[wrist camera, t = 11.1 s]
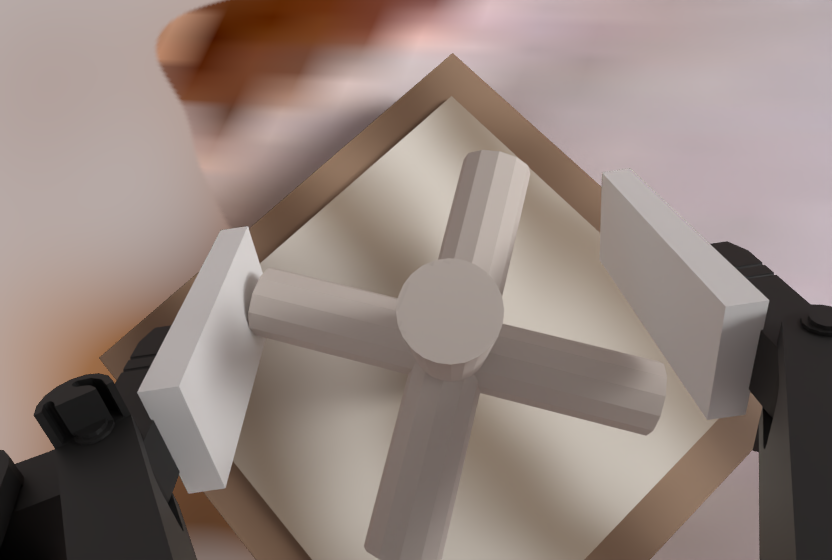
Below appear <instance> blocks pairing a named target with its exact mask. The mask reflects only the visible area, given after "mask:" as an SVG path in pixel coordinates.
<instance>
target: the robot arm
mask: <svg viewBox="0 0 832 560" xmlns="http://www.w3.org/2000/svg"><path fill="white" fill-rule="evenodd" d="M600 261H601V263H602V264H603V266H604V267H605V269H606V270H607V272H608V273H609V275H610V276H611V278H612V279H613V281H614V282H615V284H616V285H617V287H618V288H619V290H620V291H621V293H622V294H623V296H624V297H625V298H626V300H627V301H628V303H629V304H630V306H631V307H632V309H633V310H634V312H635V313H636V315H637V316H638V318H639V319H640V321H641V322H642V324H643V325H644V327H645V328H646V330H647V331H648V333H649V334H650V336H651V337H652V339H653V340H654V342H655V343H656V345H657V346H658V348H659V349H660V351H661V352H662V354H663V355H664V357H665V358H666V360H667V361H668V363H669V364H670V365H671V367H672V368H673V370H674V371H675V373H676V374H677V376H678V377H679V379H680V380H681V382H682V383H683V385H684V386H685V388H686V389H687V391H688V392H689V394H690V395H691V397H692V398H693V400H694V401H695V403H696V404H697V406H698V407H699V409H700V410H701V412H702V413H703V415H704V416H705V418H706V419H707V420H711V419H718V418H725V417H732V416H739V415H746V410H747V405H748V400H749V395H750V392H751V393H752V394H753V395H754V397H755V398H756V399H757V400H758V402H759V403H760V404H761V405H762V411H761V415H760V420H759V424H758V429H757V433H756V437H755V442H754V446H753V451H757V452H759V541H760V560H832V307H830V306H825V305H810V304H809V303H808V302H807V301H806V300H805V299H804V298H802V297H801V296H800V295H799V294H798V293H797V292H795V291H794V290H793V289H792V288H791V287H790V286H789V285H787V284H786V283H785V282H784V281H783V280H782V279H780V278H779V277H778V276H777V275H774V272H772V271H771V270H770V269H769V268H768V267H767V266H765V265H762V262H761V261H760V260H759V259H757V258H756V257H755V256H754V255H753V254H752V253H751V252H749V251H748V250H746V249H743V248H741V247H739V246H737V245H734V244H732V243H730V242H720V243H713V244H709V243H708V242H707V241H706V240H705V239H704V238H703V237H702V236H701V235H700V234H699V233H698V232H697V231H696V230H695V229H694V228H692V227H691V226H690V225H689V224H688V223H687V222H686V221H685V220H684V219H683V218H682V217H681V216H680V215H679V214H678V213H677V212H676V211H675V210H673V209H672V208H671V207H670V206H669V205H668V204H667V203H666V202H665V201H664V200H663V199H662V198H661V197H660V196H659V195H658V194H657V193H656V192H654V191H653V190H652V189H651V188H650V187H649V186H648V185H647V184H646V183H645V182H644V181H643V180H642V179H641V178H640V177H639V176H638V175H637V174H635V173H634V172H633V171H632V170H631V169H630V168H629V169H622V170H616V171H609V172H602V191H601V227H600ZM262 274H263V272H262V269H261V266H260V263H259V260H258V256H257V253H256V250H255V247H254V244H253V241H252V238H251V234H250V231H249V228H248V226H245V227H239V228H232V229H225V230H221V231H220V233H219V235H218V236H217V238H216V240H215V242H214V244H213V246H212V248H211V250H210V252H209V254H208V256H207V258H206V260H205V261H204V264H203V265H202V267H201V269H200V271H199V273H198V275H197V277H196V279H195V281H194V283H193V285H192V287H191V289H190V291H189V293H188V294H187V296H186V298H185V300H184V302H183V304H182V306H181V308H180V310H179V312H178V314H177V316H176V318H175V320H174V322H173V324H172V325H170V326H163V327H156V328H154V329H153V330H152V331H151V332H150V333H148V334H147V335H146V336H145V337H144V338H143V339H142V340H141V341H139V343H138V344H137V346H136V348H135V350H134V351H133V353H132V355H131V356H130V360H128V362H127V363H126V365H125V367H124V369H123V373H121V374H120V376H119V377H118V379H117V381H116V383H115V384H114V382H113V380H112V379H111V378H110V377H109V376H107V375H103V374H99V373H98V374H88V375H83V376H81V377H77V378H74V379H71V380H69V381H67V382H65V383H63V384H61V385H59V386H58V387H56V388H55V389H53V390H52V391H51V392H49V393H48V394H47V395H46V396H45V397H44V398H43V399H42V400H41V401H40V402H39V404H38V405H37V406H36V410H35V413H34V417H35V418H36V419H37V421H38V423H39V424H40V426H41V427H42V429H43V431H44V432H45V433H46V435H47V437H48V438H49V440H50V441H51V443H52V444H53V446H54V448H55V450H52V451H50V452H47V453H44V454H42V455H39V456H36V457H33V458H30V459H28V460H25V461H22V462H20V463H17V464H14V463H13V461H12V460H11V458H10V457H9V456H8V455H7V454H6V453H5V451H4V450H0V560H197V558H196V555H195V552H194V549H193V546H192V543H191V540H190V537H189V534H188V532H187V528H186V525H185V522H184V519H183V516H182V513H181V510H180V508H179V504H178V503H177V501H176V499H175V497H174V495H173V493H172V492H173V489H174V487H175V484H176V481H177V478H178V476H180V478H181V479H182V482H183V484H184V486H185V488H186V490H187V492H188V494H189V493H196V492H203V491H210V490H218V489H225V488H226V484H227V481H228V477H229V473H230V470H231V466H232V462H233V458H234V455H235V451H236V447H237V444H238V440H239V436H240V432H241V429H242V425H243V421H244V417H245V414H246V410H247V406H248V403H249V399H250V395H251V391H252V388H253V384H254V380H255V377H256V373H257V369H258V365H259V362H260V358H261V354H262V351H263V347H264V343H265V339H266V338H264V337H260V336H256V335H255V334H254V333H253V332H252V331H251V329H250V328H249V322H248V311H249V307H250V302H251V297H252V293H253V291H254V289H255V287H256V284H257V282H258V280H259V278H260V276H261V275H262Z"/></svg>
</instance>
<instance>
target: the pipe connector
mask: <svg viewBox="0 0 832 560" xmlns="http://www.w3.org/2000/svg"><path fill="white" fill-rule="evenodd" d="M529 178H530V170H529V167H528V165H527V164H525V163H524V162H523V161H521V160H520V159H519V158H517V157H515V156H512V155H509V154H506V153H503V152H500V151H490V150H479V151H474V152H470V153H468V154H467V156H466V157H465V158H464V160H463V164H462V168H461V172H460V175H459V179H458V183H457V187H456V191H455V195H454V199H453V203H452V206H451V210H450V214H449V218H448V222H447V226H446V230H445V234H444V237H443V241H442V245H441V249H440V253H439V257H438V260H434V261H432V262H430V263H427V264H425V265H423V266H421V267H420V268H419V269H417V270H416V271H415V272H413V273H412V274H411V275H410V277H409V278H408V279H407V281H406V282H405V283H404V284H403V286H402V289H401V291H400V294H399V296H398V298H395V297H391V296H387V295H383V294H379V293H375V292H370V291H366V290H362V289H358V288H354V287H350V286H346V285H342V284H337V283H333V282H329V281H325V280H321V279H317V278H313V277H309V276H304V275H300V274H296V273H292V272H288V271H284V270H280V269H276V268H267V270H266V271H265V272H264V273H263V274H262V275H261V276H260V278H259V280H258V282H257V284H256V287H255V289H254V291H253V293H252V297H251V302H250V307H249V311H248V322H249V328H250V329H251V331H252V332H253V333H254V334H255V335H256V336H260V337H264V338H268V339H272V340H276V341H280V342H284V343H288V344H291V345H295V346H299V347H303V348H307V349H311V350H315V351H319V352H323V353H326V354H330V355H334V356H338V357H342V358H346V359H350V360H354V361H358V362H361V363H365V364H369V365H373V366H377V367H381V368H385V369H389V370H393V371H396V372H400V373H404V374H408V377H407V381H406V384H405V388H404V392H403V396H402V400H401V404H400V408H399V411H398V415H397V419H396V423H395V427H394V431H393V435H392V439H391V442H390V446H389V450H388V454H387V458H386V462H385V466H384V469H383V473H382V477H381V481H380V485H379V489H378V493H377V497H376V500H375V504H374V508H373V512H372V516H371V520H370V524H369V528H368V531H367V535H366V539H365V543H364V548H365V550H366V552H368V553H370V554H371V555H373V556H374V557H376V558H378V559H380V560H442V556H443V552H444V547H445V543H446V539H447V534H448V530H449V526H450V521H451V517H452V513H453V508H454V504H455V500H456V495H457V491H458V487H459V482H460V478H461V473H462V469H463V465H464V460H465V456H466V452H467V447H468V443H469V439H470V434H471V430H472V426H473V421H474V417H475V413H476V408H477V404H478V400H479V395H480V393H482V394H486V395H490V396H494V397H497V398H501V399H505V400H509V401H513V402H517V403H521V404H525V405H529V406H532V407H536V408H540V409H544V410H548V411H552V412H556V413H560V414H564V415H567V416H571V417H575V418H579V419H583V420H587V421H591V422H595V423H599V424H602V425H606V426H610V427H614V428H618V429H622V430H626V431H630V432H633V433H637V434H641V435H645V436H647V435H648V434H650V433H651V432H652V431H654V429H655V427H656V425H657V423H658V421H659V419H660V417H661V413H662V409H663V405H664V401H665V397H666V385H667V375H666V370H665V365H664V364H663V363H661V362H659V361H655V360H651V359H647V358H643V357H639V356H635V355H631V354H626V353H622V352H618V351H614V350H610V349H606V348H602V347H598V346H593V345H589V344H585V343H581V342H577V341H573V340H569V339H564V338H560V337H556V336H552V335H548V334H544V333H540V332H536V331H531V330H527V329H523V328H519V327H515V326H511V325H507V324H503V318H504V305H503V299H502V295H503V291H504V287H505V282H506V278H507V273H508V269H509V265H510V260H511V256H512V252H513V247H514V243H515V239H516V234H517V230H518V226H519V221H520V217H521V213H522V208H523V204H524V200H525V195H526V191H527V187H528V182H529Z"/></svg>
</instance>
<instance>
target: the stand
mask: <svg viewBox="0 0 832 560" xmlns="http://www.w3.org/2000/svg"><path fill="white" fill-rule="evenodd" d="M479 150H490V151H500V152H503V153H506V154H509V155H512V156H515V157H517V158H519V159H520V160H521V161H523V162H524V163H525V164H527V165H528V167H529V170H530V178H529V182H528V187H527V191H526V195H525V200H524V204H523V208H522V213H521V217H520V221H519V226H518V230H517V234H516V239H515V243H514V247H513V252H512V256H511V260H510V265H509V269H508V273H507V278H506V282H505V287H504V291H503V295H502V299H503V305H504V318H503V324H507V325H511V326H515V327H519V328H523V329H527V330H531V331H536V332H540V333H544V334H548V335H552V336H556V337H560V338H564V339H569V340H573V341H577V342H581V343H585V344H589V345H593V346H598V347H602V348H606V349H610V350H614V351H618V352H622V353H626V354H631V355H635V356H639V357H643V358H647V359H651V360H655V361H659V362H661V363H663V364H664V365H665V370H666V375H667V385H666V397H665V401H664V405H663V409H662V413H661V417H660V419H659V421H658V423H657V425H656V427H655V429H654V431H652V432H651V433H650V434H648V435H647V436H645V435H641V434H637V433H633V432H630V431H626V430H622V429H618V428H614V427H610V426H606V425H602V424H599V423H595V422H591V421H587V420H583V419H579V418H575V417H571V416H567V415H564V414H560V413H556V412H552V411H548V410H544V409H540V408H536V407H532V406H529V405H525V404H521V403H517V402H513V401H509V400H505V399H501V398H497V397H494V396H490V395H486V394H482V393H480V395H479V400H478V404H477V408H476V413H475V417H474V421H473V426H472V430H471V434H470V439H469V443H468V447H467V452H466V456H465V460H464V465H463V469H462V473H461V478H460V482H459V487H458V491H457V495H456V500H455V504H454V508H453V513H452V517H451V521H450V526H449V530H448V534H447V539H446V543H445V547H444V552H443V556H442V560H650V559H651V558H652V557H653V556H654V555H655V553H656V552H657V551H658V550H659V549H660V548H661V547H662V546H663V545H664V544H665V543H666V542H667V541H668V540H669V539H670V537H671V536H672V535H673V534H674V533H675V532H676V531H677V530H678V529H679V528H680V527H681V526H682V525H683V524H684V522H685V521H686V520H687V519H688V518H689V517H690V516H691V515H692V514H693V513H694V512H695V511H696V510H697V509H698V508H699V506H700V505H701V504H702V503H703V502H704V501H705V500H706V499H707V498H708V497H709V496H710V495H711V494H712V493H713V491H714V490H715V489H716V488H717V487H718V486H719V485H720V484H721V483H722V482H723V481H724V480H725V479H726V478H727V477H728V475H729V474H730V473H731V472H732V471H733V470H734V469H735V468H736V467H737V466H738V465H739V464H740V463H741V462H742V461H743V459H744V458H745V457H746V456H747V455H748V454H749V453H750V452H751V451H752V450H753V446H754V442H755V437H756V433H757V429H758V424H759V420H760V415H761V411H762V405H761V404H760V403H759V402H758V400H757V399H756V398H755V397H754V395H753V394H752V393H751V392H750V395H749V400H748V405H747V410H746V415H739V416H732V417H725V418H718V419H711V420H707V419H706V418H705V416H704V415H703V413H702V412H701V410H700V409H699V407H698V406H697V404H696V403H695V401H694V400H693V398H692V397H691V395H690V394H689V392H688V391H687V389H686V388H685V386H684V385H683V383H682V382H681V380H680V379H679V377H678V376H677V374H676V373H675V371H674V370H673V368H672V367H671V365H670V364H669V363H668V361H667V360H666V358H665V357H664V355H663V354H662V352H661V351H660V349H659V348H658V346H657V345H656V343H655V342H654V340H653V339H652V337H651V336H650V334H649V333H648V331H647V330H646V328H645V327H644V325H643V324H642V322H641V321H640V319H639V318H638V316H637V315H636V313H635V312H634V310H633V309H632V307H631V306H630V304H629V303H628V301H627V300H626V298H625V297H624V296H623V294H622V293H621V291H620V290H619V288H618V287H617V285H616V284H615V282H614V281H613V279H612V278H611V276H610V275H609V273H608V272H607V270H606V269H605V267H604V266H603V264H602V263H601V261H600V227H601V191H602V187H601V186H600V185H599V184H598V183H597V182H595V181H594V180H593V179H592V178H591V177H590V176H589V175H588V174H587V173H585V172H584V171H583V170H582V169H581V168H580V167H579V166H578V165H577V164H575V163H574V162H573V161H572V160H571V159H570V158H569V157H568V156H567V155H565V154H564V153H563V152H562V151H561V150H560V149H559V148H558V147H556V146H555V145H554V144H553V143H552V142H551V141H550V140H549V139H548V138H546V137H545V136H544V135H543V134H542V133H541V132H540V131H539V130H538V129H536V128H535V127H534V126H533V125H532V124H531V123H530V122H529V121H528V120H526V119H525V118H524V117H523V116H522V115H521V114H520V113H519V112H518V111H516V110H515V109H514V108H513V107H512V106H511V105H510V104H509V103H508V102H506V101H505V100H504V99H503V98H502V97H501V96H500V95H499V94H498V93H496V92H495V91H494V90H493V89H492V88H491V87H490V86H489V85H488V84H486V83H485V82H484V81H483V80H482V79H481V78H480V77H479V76H478V75H476V74H475V73H474V72H473V71H472V70H471V69H470V68H469V67H468V66H466V65H465V64H464V63H463V62H462V61H461V60H460V59H459V58H458V57H456V56H455V55H454V54H453V53H452V54H451V55H450V56H449V57H448V58H446V59H445V60H444V61H443V62H442V63H441V64H439V65H438V66H437V67H436V68H435V69H434V70H433V71H431V72H430V73H429V74H428V75H427V76H426V77H424V78H423V79H422V80H421V81H420V82H419V83H417V84H416V85H415V86H414V87H413V88H412V89H410V90H409V91H408V92H407V93H406V94H405V95H404V96H402V97H401V98H400V99H399V100H398V101H397V102H395V103H394V104H393V105H392V106H391V107H390V108H388V109H387V110H386V111H385V112H384V113H383V114H381V115H380V116H379V117H378V118H377V119H376V120H375V121H373V122H372V123H371V124H370V125H369V126H368V127H366V128H365V129H364V130H363V131H362V132H361V133H359V134H358V135H357V136H356V137H355V138H354V139H352V140H351V141H350V142H349V143H348V144H347V145H345V146H344V147H343V148H342V149H341V150H340V151H339V152H337V153H336V154H335V155H334V156H333V157H332V158H330V159H329V160H328V161H327V162H326V163H325V164H323V165H322V166H321V167H320V168H319V169H318V170H316V171H315V172H314V173H313V174H312V175H311V176H310V177H308V178H307V179H306V180H305V181H304V182H303V183H301V184H300V185H299V186H298V187H297V188H296V189H294V190H293V191H292V192H291V193H290V194H289V195H287V196H286V197H285V198H284V199H283V200H282V201H281V202H279V203H278V204H277V205H276V206H275V207H274V208H272V209H271V210H270V211H269V212H268V213H267V214H265V215H264V216H263V217H262V218H261V219H260V220H258V221H257V222H256V223H255V224H254V225H253V226H251V227H250V228H249V231H250V234H251V238H252V241H253V244H254V247H255V250H256V253H257V256H258V260H259V263H260V266H261V269H262V272H263V273H264V272H265V271H266V270H267V268H276V269H280V270H284V271H288V272H292V273H296V274H300V275H304V276H309V277H313V278H317V279H321V280H325V281H329V282H333V283H337V284H342V285H346V286H350V287H354V288H358V289H362V290H366V291H370V292H375V293H379V294H383V295H387V296H391V297H395V298H398V296H399V294H400V291H401V289H402V286H403V284H404V283H405V282H406V281H407V279H408V278H409V277H410V275H411V274H412V273H413V272H415V271H416V270H417V269H419V268H420V267H421V266H423V265H425V264H427V263H430V262H432V261H434V260H438V257H439V253H440V249H441V245H442V241H443V237H444V234H445V230H446V226H447V222H448V218H449V214H450V210H451V206H452V203H453V199H454V195H455V191H456V187H457V183H458V179H459V175H460V172H461V168H462V164H463V160H464V158H465V157H466V156H467V154H468V153H470V152H474V151H479ZM198 273H199V272H198ZM198 273H197V274H196V275H195V276H193V278H191V279H190V280H189V281H188V282H187V283H186V284H184V285H183V286H182V287H181V288H180V289H179V290H177V291H176V292H175V293H174V294H173V295H171V296H170V297H169V298H168V299H167V300H166V301H164V302H163V303H162V304H161V305H160V306H159V307H157V309H155V310H154V311H153V312H152V313H151V314H149V315H148V316H147V317H146V318H145V319H144V320H142V321H141V322H140V323H139V324H138V325H137V326H136V327H134V328H133V329H132V330H131V331H130V332H129V333H127V334H126V335H125V336H124V337H123V338H122V339H120V340H119V341H118V342H117V343H116V344H115V345H114V346H112V347H111V348H110V349H109V350H108V351H107V352H105V353H104V354H103V355H102V356H101V357H99V359H100V360H101V361H102V362H103V364H104V365H105V366H106V367H107V369H108V370H109V371H110V373H111V374H112V375H113V377H114V378H115V379H116V380H117V379H118V377H119V376H120V374H121V373H123V369H124V367H125V365H126V363H127V362H128V360H130V356H131V355H132V353H133V351H134V350H135V348H136V346H137V344H138V343H139V341H141V340H142V339H143V338H144V337H145V336H146V335H147V334H148V333H150V332H151V331H152V330H153V329H154V328H156V327H163V326H170V325H172V324H173V322H174V320H175V318H176V316H177V314H178V312H179V310H180V308H181V306H182V304H183V302H184V300H185V298H186V296H187V294H188V293H189V291H190V289H191V287H192V285H193V283H194V281H195V279H196V277H197V275H198ZM407 377H408V374H404V373H400V372H396V371H393V370H389V369H385V368H381V367H377V366H373V365H369V364H365V363H361V362H358V361H354V360H350V359H346V358H342V357H338V356H334V355H330V354H326V353H323V352H319V351H315V350H311V349H307V348H303V347H299V346H295V345H291V344H288V343H284V342H280V341H276V340H272V339H268V338H266V339H265V343H264V347H263V351H262V354H261V358H260V362H259V365H258V369H257V373H256V377H255V380H254V384H253V388H252V391H251V395H250V399H249V403H248V406H247V410H246V414H245V417H244V421H243V425H242V429H241V432H240V436H239V440H238V444H237V447H236V451H235V455H234V458H233V462H232V466H231V470H230V473H229V477H228V481H227V484H226V488H225V489H218V490H210V491H203V492H204V493H205V495H206V496H207V498H208V499H209V500H210V501H211V503H212V504H213V505H214V507H215V508H216V509H217V510H218V512H219V513H220V514H221V516H222V517H223V518H224V519H225V521H226V522H227V523H228V525H229V526H230V527H231V528H232V530H233V531H234V532H235V534H236V535H237V536H238V537H239V539H240V540H241V541H242V543H243V544H244V545H245V546H246V548H247V549H248V550H249V551H250V553H251V554H252V555H253V557H254V558H255V559H256V560H380V559H378V558H376V557H374V556H373V555H371V554H370V553H368V552H366V550H365V548H364V543H365V539H366V535H367V531H368V528H369V524H370V520H371V516H372V512H373V508H374V504H375V500H376V497H377V493H378V489H379V485H380V481H381V477H382V473H383V469H384V466H385V462H386V458H387V454H388V450H389V446H390V442H391V439H392V435H393V431H394V427H395V423H396V419H397V415H398V411H399V408H400V404H401V400H402V396H403V392H404V388H405V384H406V381H407Z"/></svg>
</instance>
